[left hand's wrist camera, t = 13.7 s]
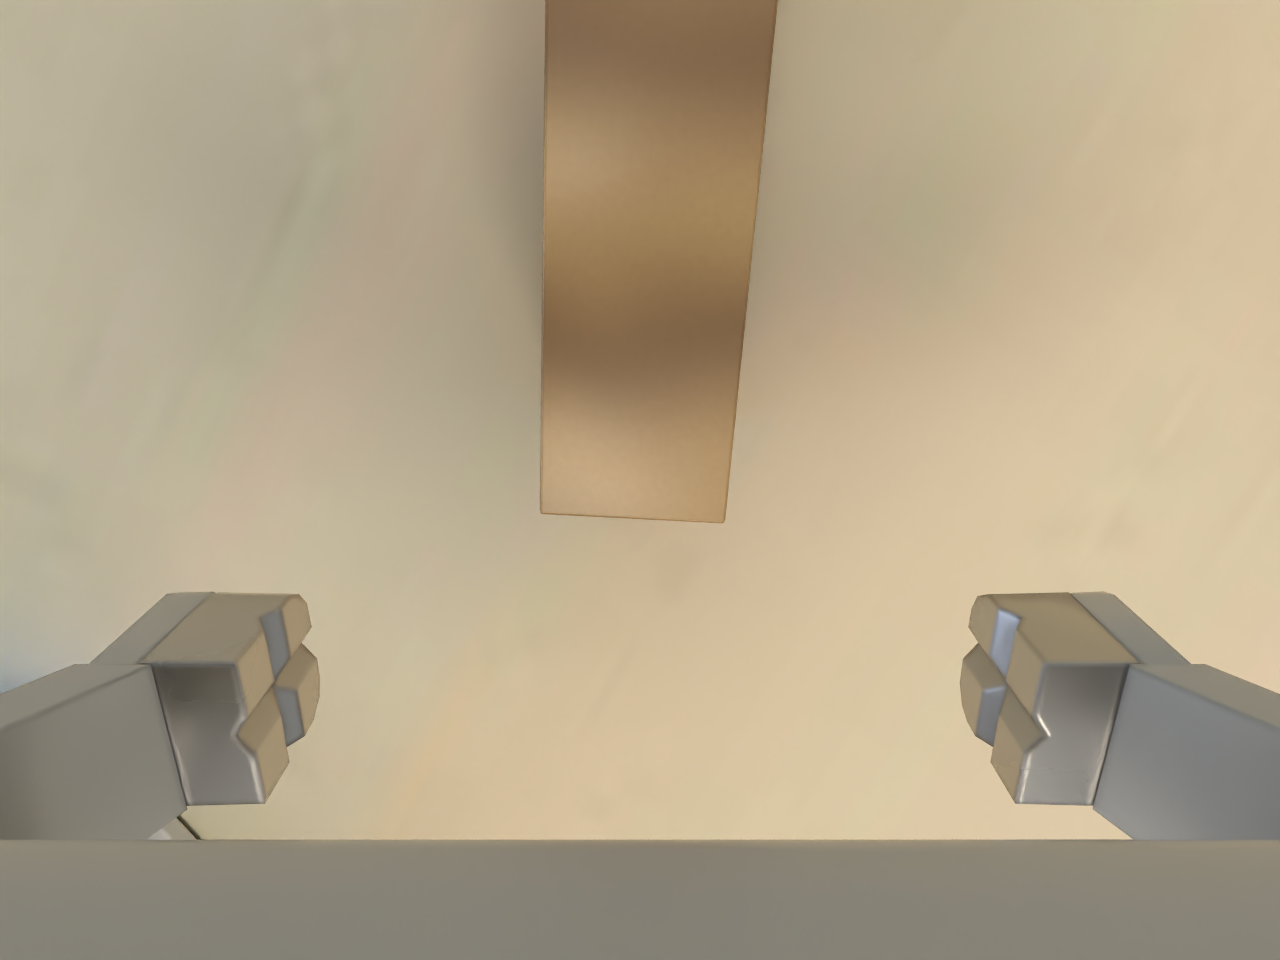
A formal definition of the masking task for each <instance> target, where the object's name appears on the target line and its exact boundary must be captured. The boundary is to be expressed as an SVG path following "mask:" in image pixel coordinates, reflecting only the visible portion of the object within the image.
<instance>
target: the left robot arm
mask: <svg viewBox="0 0 1280 960" xmlns="http://www.w3.org/2000/svg"><path fill="white" fill-rule="evenodd" d="M311 627H312V626H311V621H310V617H309V612H308V607H307V603H306V602H305V600H304V599H303V598H302V597H301V596H300V595H299V594H264V593H215V592H186V593H171V594H166V595H165V596H164V597H163V598H162V599H161V600H160V601H159V602H157V603H156V604H155V605H154V606H153V607H152V608H151V609H150V610H149V611H147V612H146V613H145V614H144V615H143V616H142V617H141V618H140V619H139V620H137V621H136V622H135V623H134V624H133V625H132V626H131V627H130V628H128V629H127V630H126V631H125V632H124V633H123V634H122V635H121V636H120V637H118V638H117V639H116V640H115V641H114V642H113V643H112V644H111V645H110V646H108V647H107V648H106V649H105V650H104V651H103V652H102V653H101V654H99V655H98V656H97V657H96V658H95V659H94V660H93V661H92V662H91V663H89V664H74V665H72V666H69V667H67V668H64V669H62V670H59V671H57V672H54V673H52V674H49V675H47V676H44V677H42V678H39V679H37V680H34V681H32V682H29V683H27V684H24V685H22V686H19V687H17V688H14V689H12V690H9V691H7V692H4V693H2V694H0V960H1280V694H1278V693H1275V692H1273V691H1270V690H1268V689H1265V688H1263V687H1260V686H1258V685H1256V684H1253V683H1251V682H1248V681H1246V680H1243V679H1241V678H1238V677H1236V676H1233V675H1231V674H1228V673H1226V672H1223V671H1221V670H1218V669H1216V668H1213V667H1211V666H1208V665H1206V664H1191V663H1190V662H1188V661H1187V660H1186V659H1185V658H1184V657H1183V656H1182V655H1181V654H1180V653H1178V652H1177V651H1176V650H1175V649H1174V648H1173V647H1172V646H1171V645H1170V644H1168V643H1167V642H1166V641H1165V640H1164V639H1163V638H1162V637H1161V636H1159V635H1158V634H1157V633H1156V632H1155V631H1154V630H1153V629H1152V628H1151V627H1149V626H1148V625H1147V624H1146V623H1145V622H1144V621H1143V620H1142V619H1141V618H1139V617H1138V616H1137V615H1136V614H1135V613H1134V612H1133V611H1132V610H1131V609H1129V608H1128V607H1127V606H1126V605H1125V604H1124V603H1123V602H1122V601H1121V600H1119V599H1118V598H1117V597H1116V596H1115V595H1113V594H1110V593H1106V592H1081V593H1026V594H987V595H981V596H977V598H976V600H975V603H974V605H973V607H972V610H971V615H970V621H969V626H968V627H969V629H970V630H971V632H972V633H973V635H974V636H975V638H976V640H977V641H978V644H977V645H976V646H975V647H974V648H973V649H972V650H971V651H970V652H969V653H968V654H967V655H966V656H965V657H964V658H963V663H962V670H961V678H960V689H961V700H962V707H963V710H964V713H965V716H966V719H967V722H968V724H969V725H970V727H971V729H972V731H973V733H974V734H975V736H976V737H978V738H979V739H981V740H983V741H984V742H986V743H988V744H989V745H991V746H992V747H993V751H992V757H991V764H992V765H993V767H994V769H995V770H996V772H997V774H998V775H999V777H1000V779H1001V780H1002V782H1003V784H1004V785H1005V787H1006V789H1007V790H1008V792H1009V794H1010V795H1011V797H1012V799H1013V800H1014V802H1015V804H1050V805H1087V806H1093V810H1095V811H1096V812H1097V813H1099V814H1100V815H1101V816H1103V817H1104V818H1105V819H1107V820H1108V821H1109V822H1111V823H1112V824H1113V825H1115V826H1116V827H1118V828H1119V829H1120V830H1122V831H1123V832H1124V833H1126V834H1127V835H1128V836H1130V837H1131V838H1132V839H1134V840H197V839H196V838H195V837H194V836H193V835H192V834H191V833H190V832H189V831H188V829H187V828H186V827H185V826H184V825H183V824H182V823H181V822H180V821H179V820H178V819H177V818H176V817H178V816H179V815H180V814H182V813H183V812H184V811H186V810H187V806H193V805H228V804H264V803H265V802H266V801H267V799H268V797H269V796H270V794H271V792H272V790H273V789H274V787H275V785H276V784H277V782H278V780H279V779H280V777H281V775H282V774H283V772H284V770H285V769H286V767H287V765H288V764H289V757H288V751H287V747H288V746H289V745H291V744H292V743H294V742H296V741H297V740H299V739H301V738H302V737H304V736H305V734H306V733H307V731H308V729H309V727H310V725H311V723H312V722H313V720H314V717H315V712H316V708H317V704H318V700H319V693H320V675H319V669H318V662H317V658H316V657H315V656H314V655H313V654H312V653H311V652H310V651H309V650H308V649H307V648H306V647H305V646H304V645H303V644H302V641H303V640H304V638H305V636H306V635H307V633H308V632H309V630H310V629H311Z"/></svg>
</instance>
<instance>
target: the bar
mask: <svg viewBox="0 0 1280 960" xmlns="http://www.w3.org/2000/svg"><path fill="white" fill-rule="evenodd" d="M777 3H778V0H545V85H544V176H543V267H542V359H541V450H540V512H541V513H542V514H555V515H574V516H593V517H613V518H632V519H651V520H670V521H690V522H709V523H724V521H725V516H726V506H727V496H728V486H729V476H730V466H731V457H732V447H733V437H734V427H735V417H736V407H737V397H738V388H739V378H740V368H741V358H742V348H743V338H744V328H745V319H746V309H747V299H748V289H749V279H750V269H751V259H752V250H753V240H754V230H755V220H756V210H757V200H758V190H759V181H760V171H761V161H762V151H763V141H764V131H765V121H766V112H767V102H768V92H769V82H770V72H771V62H772V52H773V43H774V33H775V23H776V13H777Z"/></svg>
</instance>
